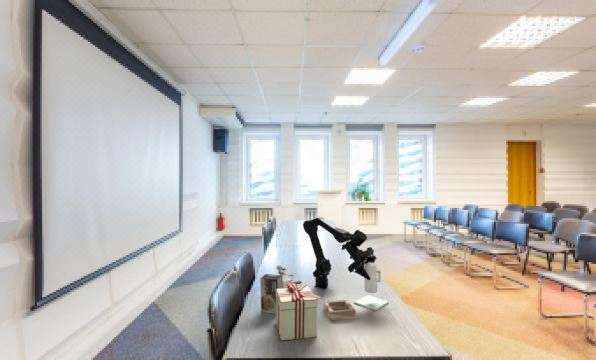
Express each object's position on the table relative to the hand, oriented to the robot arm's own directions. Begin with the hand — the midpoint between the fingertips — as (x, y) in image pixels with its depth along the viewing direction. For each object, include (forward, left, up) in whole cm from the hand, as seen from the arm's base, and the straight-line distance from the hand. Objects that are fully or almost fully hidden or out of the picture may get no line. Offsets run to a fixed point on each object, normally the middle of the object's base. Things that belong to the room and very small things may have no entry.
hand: (373, 278), depth 142 cm
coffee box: (-42, -26, -13) cm, 51 cm away
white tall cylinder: (0, 0, -7) cm, 7 cm away
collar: (-12, -16, -13) cm, 24 cm away
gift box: (-23, -36, -13) cm, 45 cm away
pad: (-1, +1, -13) cm, 13 cm away
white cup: (-44, -10, -13) cm, 47 cm away
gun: (-62, +20, -14) cm, 67 cm away
